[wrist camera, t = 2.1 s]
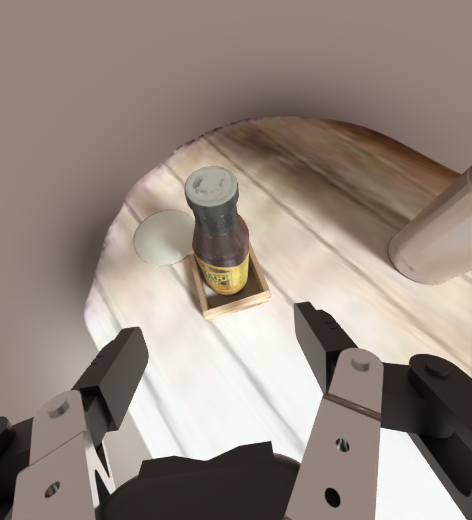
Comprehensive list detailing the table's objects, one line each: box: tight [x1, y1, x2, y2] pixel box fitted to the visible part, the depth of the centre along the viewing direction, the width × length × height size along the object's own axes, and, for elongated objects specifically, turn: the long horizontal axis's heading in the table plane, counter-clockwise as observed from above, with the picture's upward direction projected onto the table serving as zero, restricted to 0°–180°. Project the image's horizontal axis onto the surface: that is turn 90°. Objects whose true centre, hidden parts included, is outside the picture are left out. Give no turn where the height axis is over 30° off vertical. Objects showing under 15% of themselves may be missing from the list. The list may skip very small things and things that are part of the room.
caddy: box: [188, 241, 271, 321], centre depth 33 cm, size 9×10×3 cm
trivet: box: [134, 210, 195, 266], centre depth 38 cm, size 11×11×1 cm
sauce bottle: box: [185, 166, 249, 296], centre depth 25 cm, size 6×6×20 cm
